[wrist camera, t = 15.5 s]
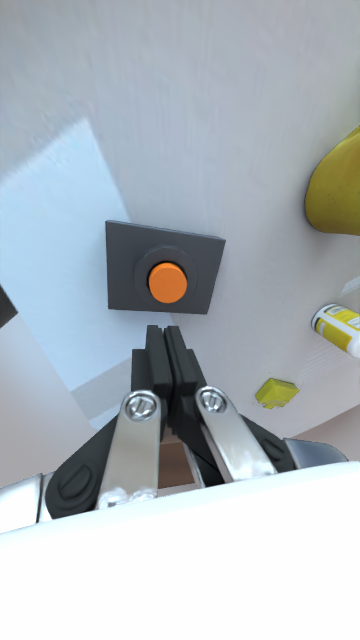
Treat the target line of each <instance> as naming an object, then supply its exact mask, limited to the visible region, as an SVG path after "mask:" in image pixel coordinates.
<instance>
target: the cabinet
mask: <svg viewBox="0 0 360 640" xmlns="http://www.w3.org/2000/svg"><path fill="white" fill-rule="evenodd" d="M191 483H195V481H194V478H193V475H192V472H191V469H190V466H189V463H188V460H187V457H186V454H185V451H184V448H183V442H182V441H181V440H180V439H178V438H177V435H172V431H171V428H167V424H166V426H165V431H164V436H163V440H162V441H161V443H160V447H159V472H158V489H161V488H167V487H173V486H179V485H185V484H191Z"/></svg>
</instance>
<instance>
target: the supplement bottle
mask: <svg viewBox="0 0 360 640" xmlns="http://www.w3.org/2000/svg"><path fill="white" fill-rule="evenodd" d="M312 328H313V329H314V330H315V331H316V332H317V333H319V334H320V335H321V336H323V337H324V338H326V339H327V340H329V341H330V342H331V343H333V344H334V345H336V346H337V347H339V348H340V349H342V350H343V351H345V352H346V353H348V354H349V355H351V356H352V357H355V358H360V314H358V313H356V312H353V311H351V310H349V309H347V308H345V307H343V306H341V305H338V304H331V305H328V306H325V307H324V308H322V309H321V310H320V311H319V312H318V313H317V314H316V315H315V317H314V319H313V321H312Z"/></svg>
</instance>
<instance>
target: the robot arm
mask: <svg viewBox="0 0 360 640" xmlns="http://www.w3.org/2000/svg"><path fill="white" fill-rule="evenodd" d="M166 424H167V428H171V431H172V435H177V438H178V439H180V440H181V441H182V442H183V448H184V451H185V454H186V457H187V460H188V463H189V466H190V469H191V472H192V475H193V478H194V481H195V483H196V486H197V489H198V490H193V491H188V492H183V493H178V494H173V495H168V496H163V497H158V498H157V496H158V472H159V447H160V443H161V441H162V440H163V436H164V431H165V426H166ZM0 640H360V461H349V460H348V459H347V458H346V456H345V455H344V454H343V453H342V452H340V451H339V450H338V449H337V448H335V447H333V446H332V445H329V444H325V443H319V442H311V441H304V440H297V439H289V438H283V440H281V439H279V438H278V437H277V436H275V435H274V434H272V433H270V432H269V431H267V430H266V429H264V428H262V427H261V426H259V425H257V424H256V423H254V422H253V421H251V420H249V419H248V418H246V417H244V416H243V415H241V414H240V413H238V411H237V410H236V408H235V407H234V405H233V404H232V402H231V400H230V399H229V397H228V396H227V395H226V394H225V393H224V392H223V391H222V390H220V389H219V388H216V387H213V386H207V383H206V381H205V378H204V376H203V373H202V371H201V368H200V366H199V364H198V361H197V359H196V356H195V354H194V351H193V350H192V349H186V346H185V343H184V340H183V338H182V335H181V332H180V329H179V327H178V326H168V327H167V328H164V332H162V328H158V325H147V334H146V346H145V349H132V373H131V393H129V394H128V395H127V396H126V397H125V398H124V399H123V402H122V404H121V408H120V412H119V414H118V415H116V416H115V417H114V418H113V419H112V420H111V421H110V422H109V423H108V424H106V425H105V426H104V427H103V428H102V429H101V430H100V431H99V432H97V433H96V434H95V435H94V436H93V437H92V438H91V439H90V440H89V441H88V442H86V443H85V444H84V445H83V446H82V447H81V448H80V449H79V450H77V451H76V452H75V453H74V454H73V455H72V456H71V457H70V458H68V459H67V460H66V461H65V462H64V463H63V464H62V465H61V466H60V467H59V468H58V469H57V470H56V471H54V472H51V473H49V474H46V475H43V474H42V473H40V474H37V475H35V476H32V477H29V478H27V479H24V480H21V481H18V482H16V483H13V484H10V485H7V486H5V487H2V488H0Z"/></svg>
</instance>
